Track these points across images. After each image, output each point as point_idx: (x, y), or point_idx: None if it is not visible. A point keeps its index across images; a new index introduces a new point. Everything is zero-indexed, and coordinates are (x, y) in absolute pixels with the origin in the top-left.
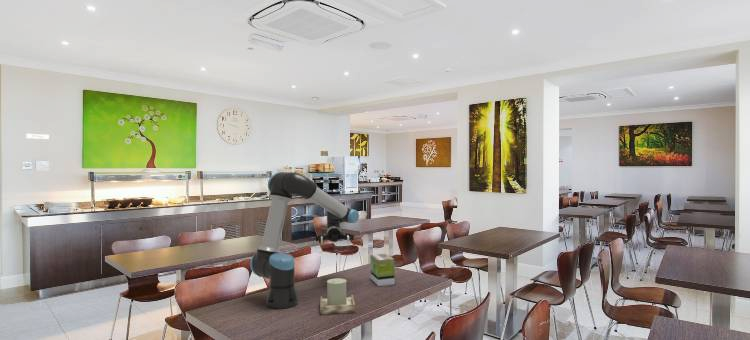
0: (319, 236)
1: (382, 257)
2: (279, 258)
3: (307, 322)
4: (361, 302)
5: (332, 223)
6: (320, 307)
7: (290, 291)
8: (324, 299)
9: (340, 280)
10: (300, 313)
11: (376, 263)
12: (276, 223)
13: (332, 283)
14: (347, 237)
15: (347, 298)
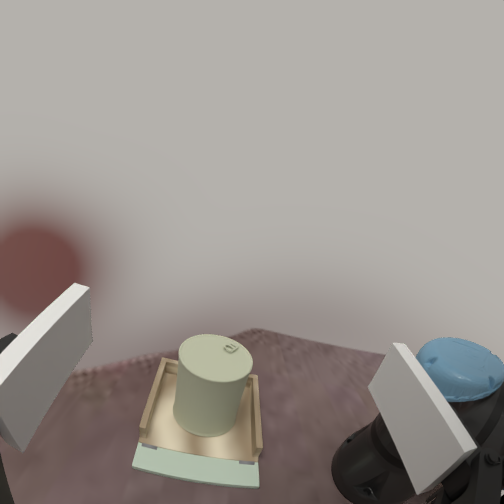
0: (494, 455)
1: None
2: (455, 341)
3: (278, 363)
4: (114, 425)
5: None
6: (256, 376)
7: (367, 427)
8: (243, 477)
9: (200, 357)
10: (304, 406)
11: None
12: None
13: (233, 340)
14: (57, 331)
15: (153, 460)
